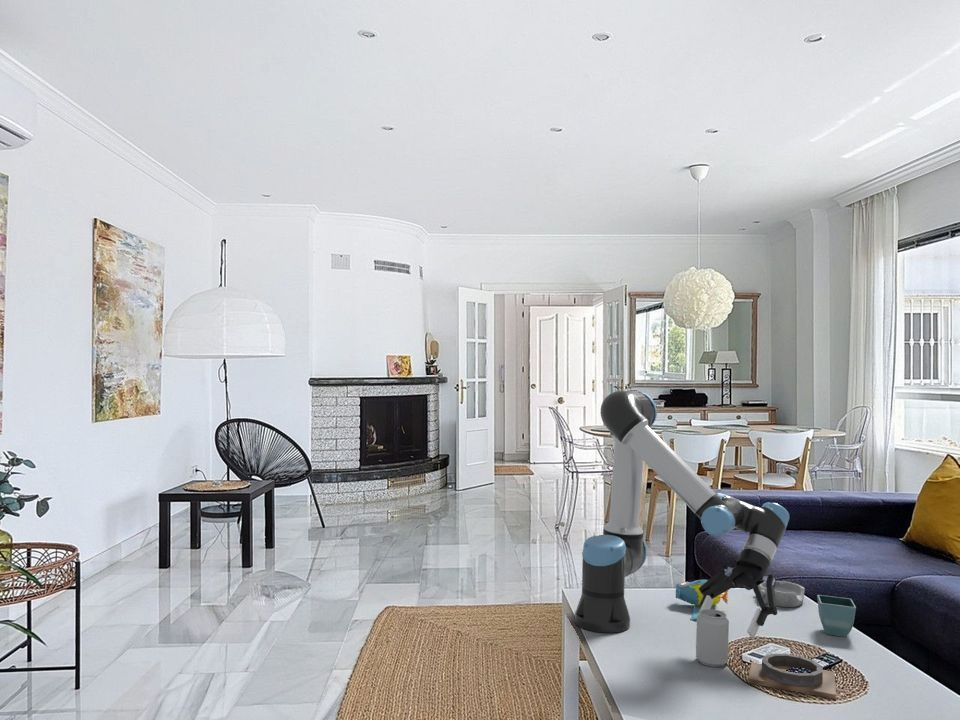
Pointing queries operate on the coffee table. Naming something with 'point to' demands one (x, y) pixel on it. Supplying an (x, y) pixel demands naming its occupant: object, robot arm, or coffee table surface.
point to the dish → (785, 594)
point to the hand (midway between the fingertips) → (724, 627)
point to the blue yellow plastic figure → (696, 595)
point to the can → (712, 638)
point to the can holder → (793, 675)
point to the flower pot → (836, 614)
